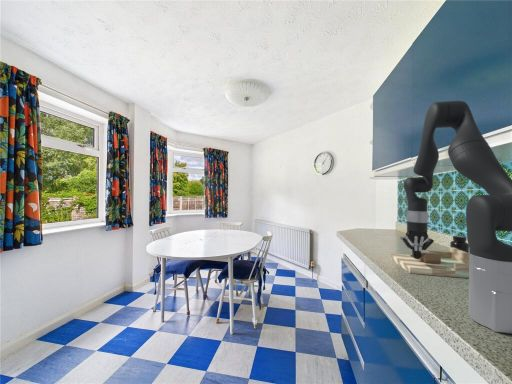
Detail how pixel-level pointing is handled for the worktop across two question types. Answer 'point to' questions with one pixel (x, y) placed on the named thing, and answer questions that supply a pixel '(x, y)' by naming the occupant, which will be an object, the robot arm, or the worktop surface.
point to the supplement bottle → (460, 243)
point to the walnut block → (430, 258)
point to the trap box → (451, 264)
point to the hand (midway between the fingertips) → (416, 258)
